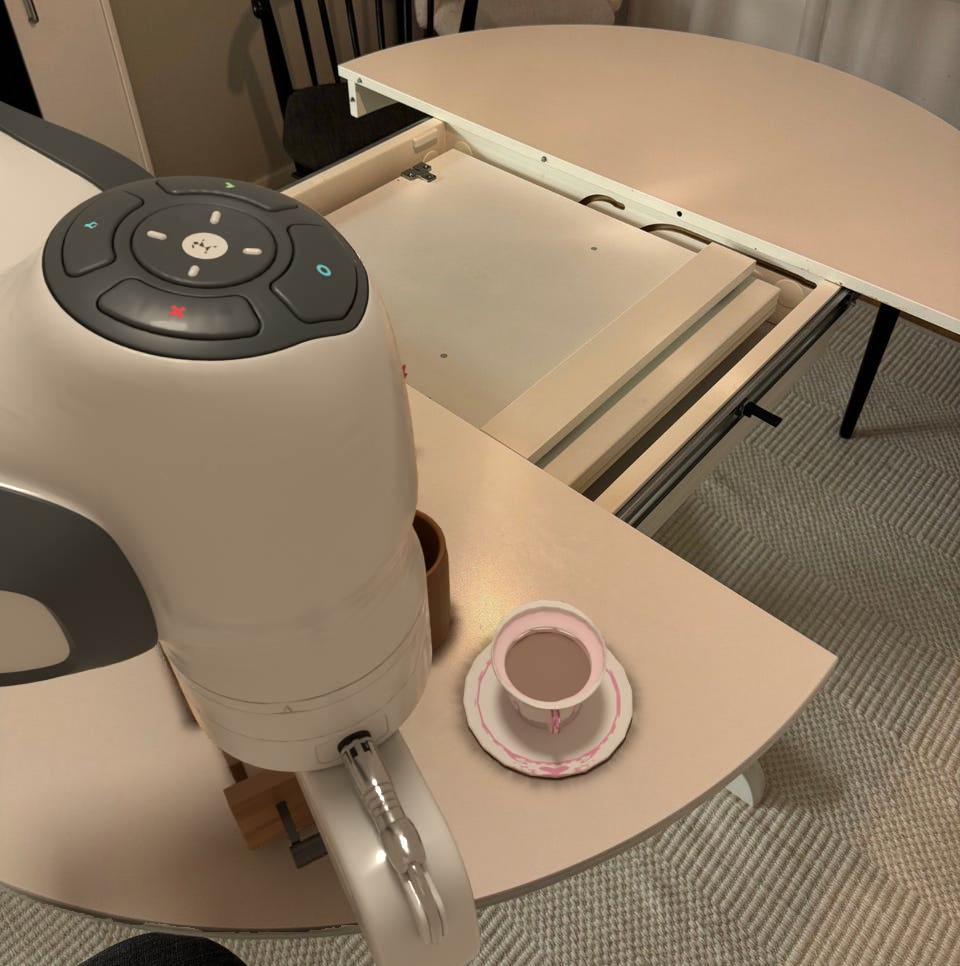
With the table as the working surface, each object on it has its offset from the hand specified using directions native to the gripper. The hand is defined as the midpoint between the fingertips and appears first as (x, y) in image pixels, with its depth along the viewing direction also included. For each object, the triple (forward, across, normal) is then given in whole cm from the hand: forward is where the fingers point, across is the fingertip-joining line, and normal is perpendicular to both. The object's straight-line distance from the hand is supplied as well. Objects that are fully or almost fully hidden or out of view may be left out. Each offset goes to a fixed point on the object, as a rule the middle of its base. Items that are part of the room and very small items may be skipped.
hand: (347, 802), depth 44 cm
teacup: (+19, +9, -17) cm, 27 cm away
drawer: (+18, +14, 0) cm, 22 cm away
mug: (+19, +22, -10) cm, 31 cm away
